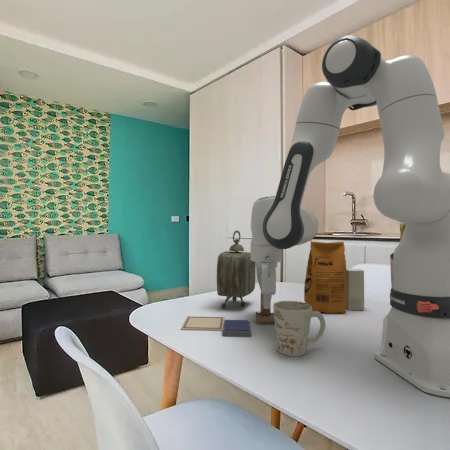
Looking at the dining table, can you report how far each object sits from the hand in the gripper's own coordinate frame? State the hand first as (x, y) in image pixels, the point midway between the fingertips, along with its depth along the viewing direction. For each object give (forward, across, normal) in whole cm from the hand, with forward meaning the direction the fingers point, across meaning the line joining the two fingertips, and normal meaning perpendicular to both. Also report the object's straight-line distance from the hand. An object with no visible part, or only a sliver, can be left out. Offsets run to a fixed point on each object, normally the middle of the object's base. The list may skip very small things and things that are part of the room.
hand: (265, 303), depth 94 cm
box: (+5, +16, -30) cm, 34 cm away
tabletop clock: (+5, +17, +8) cm, 19 cm away
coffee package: (+5, +14, -20) cm, 25 cm away
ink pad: (+5, -8, +8) cm, 12 cm away
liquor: (+5, +2, -39) cm, 39 cm away
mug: (+5, -20, -6) cm, 22 cm away
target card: (+5, -3, +17) cm, 18 cm away
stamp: (+5, 0, 0) cm, 5 cm away
